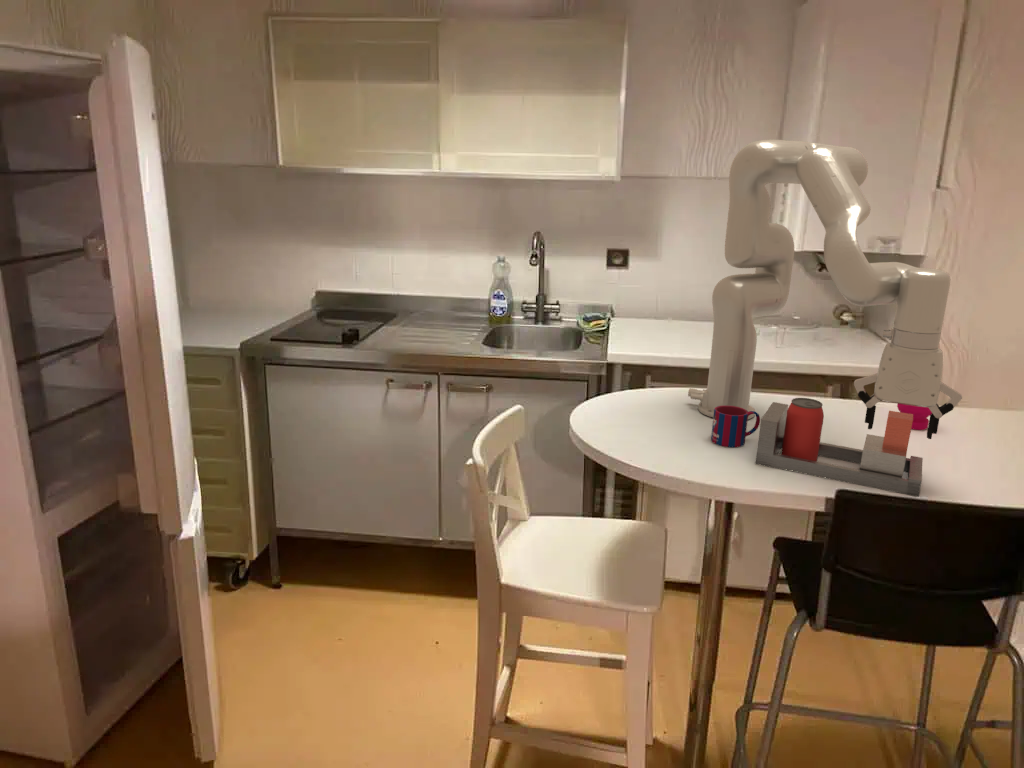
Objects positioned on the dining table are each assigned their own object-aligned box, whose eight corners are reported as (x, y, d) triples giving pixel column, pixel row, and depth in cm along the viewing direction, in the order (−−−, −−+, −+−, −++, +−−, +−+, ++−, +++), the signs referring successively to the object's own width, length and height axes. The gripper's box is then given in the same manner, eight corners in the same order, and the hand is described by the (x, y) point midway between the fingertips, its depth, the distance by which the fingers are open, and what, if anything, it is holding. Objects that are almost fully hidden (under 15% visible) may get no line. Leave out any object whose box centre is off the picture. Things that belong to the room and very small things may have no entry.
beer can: (799, 469, 145) (808, 409, 141) (773, 457, 150) (781, 399, 147) (823, 464, 148) (833, 405, 144) (797, 452, 153) (805, 395, 150)
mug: (706, 436, 161) (709, 405, 159) (751, 435, 162) (755, 404, 160) (718, 448, 154) (722, 416, 152) (765, 447, 156) (769, 415, 154)
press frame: (755, 463, 147) (760, 419, 144) (767, 443, 157) (772, 402, 155) (918, 496, 134) (928, 448, 132) (919, 472, 145) (928, 427, 142)
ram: (857, 479, 140) (868, 417, 137) (861, 463, 148) (872, 404, 144) (900, 487, 137) (912, 424, 134) (902, 470, 145) (913, 410, 141)
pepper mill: (893, 427, 170) (909, 339, 164) (894, 417, 176) (910, 332, 170) (930, 433, 166) (947, 343, 161) (930, 423, 173) (947, 337, 167)
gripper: (859, 337, 135) (845, 429, 140) (972, 350, 127) (954, 447, 132) (863, 330, 141) (849, 418, 146) (971, 341, 133) (953, 434, 138)
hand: (899, 431), depth 139 cm, fingers open, 9 cm apart
